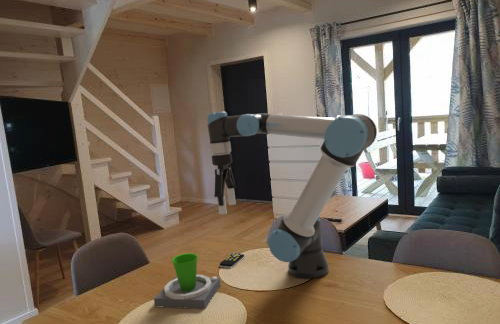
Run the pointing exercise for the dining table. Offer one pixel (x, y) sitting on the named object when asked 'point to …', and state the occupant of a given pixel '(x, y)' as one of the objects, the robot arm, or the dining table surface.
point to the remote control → (231, 260)
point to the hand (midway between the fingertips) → (227, 209)
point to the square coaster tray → (188, 293)
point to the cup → (186, 270)
